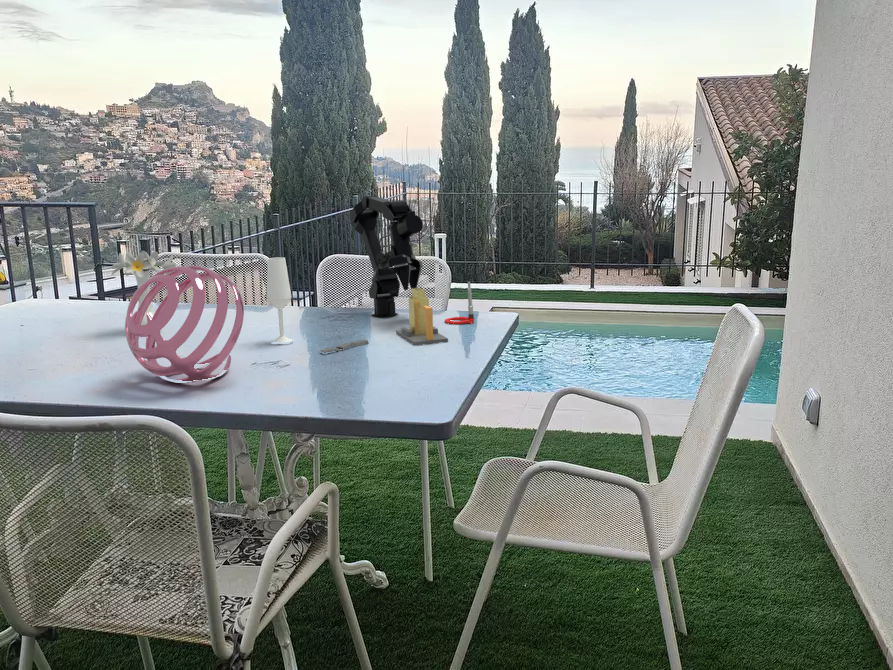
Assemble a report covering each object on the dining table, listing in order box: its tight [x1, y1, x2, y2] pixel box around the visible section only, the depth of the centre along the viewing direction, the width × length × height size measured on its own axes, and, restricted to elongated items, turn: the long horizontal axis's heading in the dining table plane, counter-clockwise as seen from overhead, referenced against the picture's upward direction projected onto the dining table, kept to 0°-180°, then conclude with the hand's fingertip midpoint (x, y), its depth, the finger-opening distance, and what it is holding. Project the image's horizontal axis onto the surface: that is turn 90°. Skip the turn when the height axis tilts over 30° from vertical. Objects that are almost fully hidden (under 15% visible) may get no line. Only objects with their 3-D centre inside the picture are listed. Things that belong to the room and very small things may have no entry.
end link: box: [408, 287, 430, 336], centre depth 207 cm, size 4×4×13 cm
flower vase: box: [111, 250, 177, 325], centre depth 218 cm, size 13×18×25 cm
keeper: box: [395, 305, 449, 346], centre depth 206 cm, size 16×10×10 cm, turn 22°
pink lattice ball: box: [124, 265, 245, 381], centre depth 169 cm, size 28×28×27 cm
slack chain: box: [319, 338, 369, 353], centre depth 196 cm, size 4×16×1 cm, turn 144°
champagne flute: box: [266, 256, 293, 343], centre depth 202 cm, size 7×7×24 cm
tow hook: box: [444, 281, 475, 325], centre depth 226 cm, size 8×13×9 cm
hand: (410, 290), depth 221 cm, fingers open, 9 cm apart
